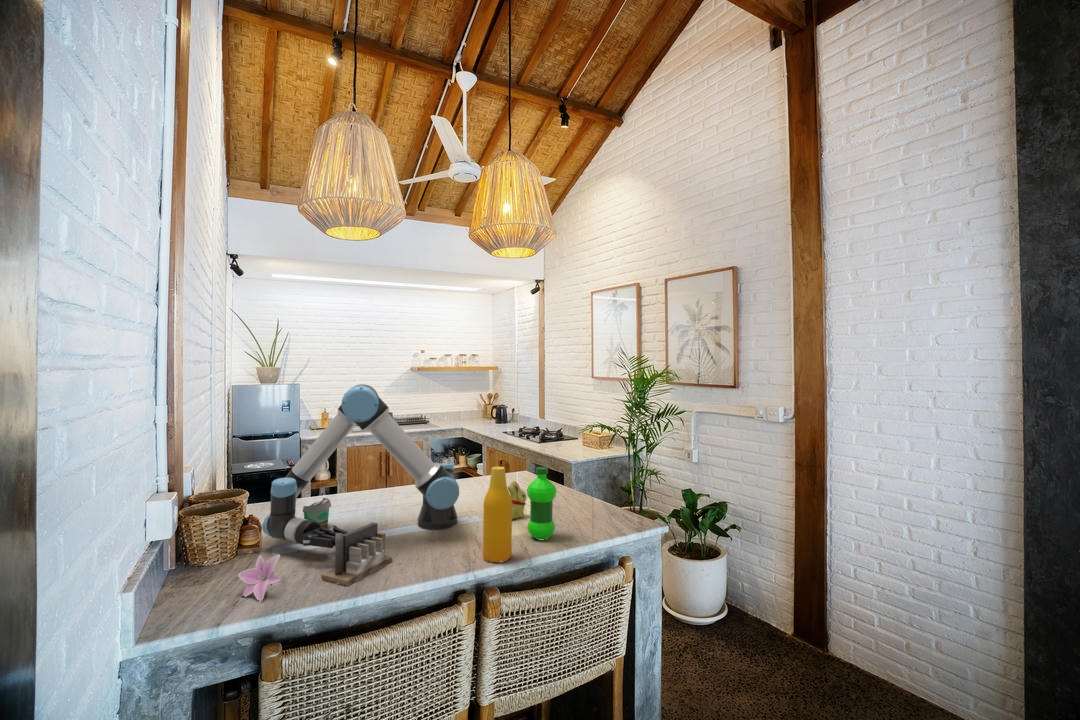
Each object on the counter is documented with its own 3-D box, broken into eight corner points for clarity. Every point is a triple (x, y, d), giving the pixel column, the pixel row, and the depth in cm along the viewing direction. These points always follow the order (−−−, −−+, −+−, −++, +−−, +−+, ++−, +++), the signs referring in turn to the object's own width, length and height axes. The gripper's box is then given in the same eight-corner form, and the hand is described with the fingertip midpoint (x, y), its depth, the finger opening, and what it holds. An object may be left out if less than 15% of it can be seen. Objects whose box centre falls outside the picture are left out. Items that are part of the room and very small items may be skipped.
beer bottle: (487, 565, 156) (489, 472, 156) (479, 554, 165) (480, 466, 165) (515, 560, 160) (516, 469, 160) (505, 550, 168) (506, 464, 168)
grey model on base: (346, 586, 141) (347, 539, 141) (321, 579, 145) (321, 534, 145) (392, 561, 158) (392, 520, 158) (368, 556, 162) (368, 516, 162)
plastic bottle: (527, 532, 186) (528, 465, 186) (555, 533, 186) (556, 465, 185) (525, 542, 176) (526, 471, 176) (555, 543, 176) (556, 471, 175)
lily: (237, 592, 138) (225, 570, 134) (279, 565, 146) (270, 542, 141) (255, 619, 132) (244, 596, 127) (299, 589, 139) (289, 566, 134)
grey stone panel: (345, 570, 146) (345, 536, 146) (340, 569, 147) (340, 535, 147) (377, 555, 158) (377, 523, 158) (372, 554, 159) (373, 522, 159)
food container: (317, 535, 180) (317, 507, 180) (302, 534, 182) (302, 506, 182) (337, 524, 192) (338, 498, 192) (323, 523, 194) (323, 497, 194)
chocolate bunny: (529, 517, 204) (530, 480, 204) (506, 522, 197) (506, 484, 197) (520, 513, 209) (520, 477, 209) (497, 517, 203) (498, 480, 203)
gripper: (319, 536, 170) (374, 549, 160) (285, 550, 157) (341, 564, 148) (320, 514, 170) (375, 525, 160) (285, 526, 157) (342, 539, 148)
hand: (359, 544), depth 154 cm, fingers closed, pressing on grey stone panel
